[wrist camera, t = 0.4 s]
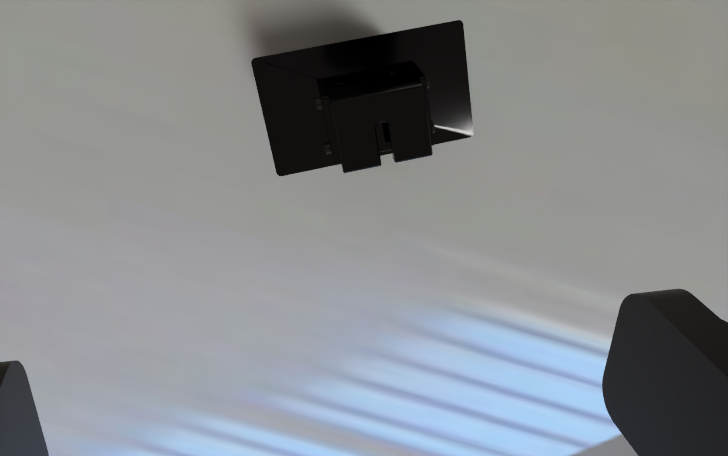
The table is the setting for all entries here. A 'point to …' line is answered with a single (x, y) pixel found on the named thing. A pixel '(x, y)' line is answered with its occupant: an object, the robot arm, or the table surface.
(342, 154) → the black boxy device
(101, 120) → the table surface
